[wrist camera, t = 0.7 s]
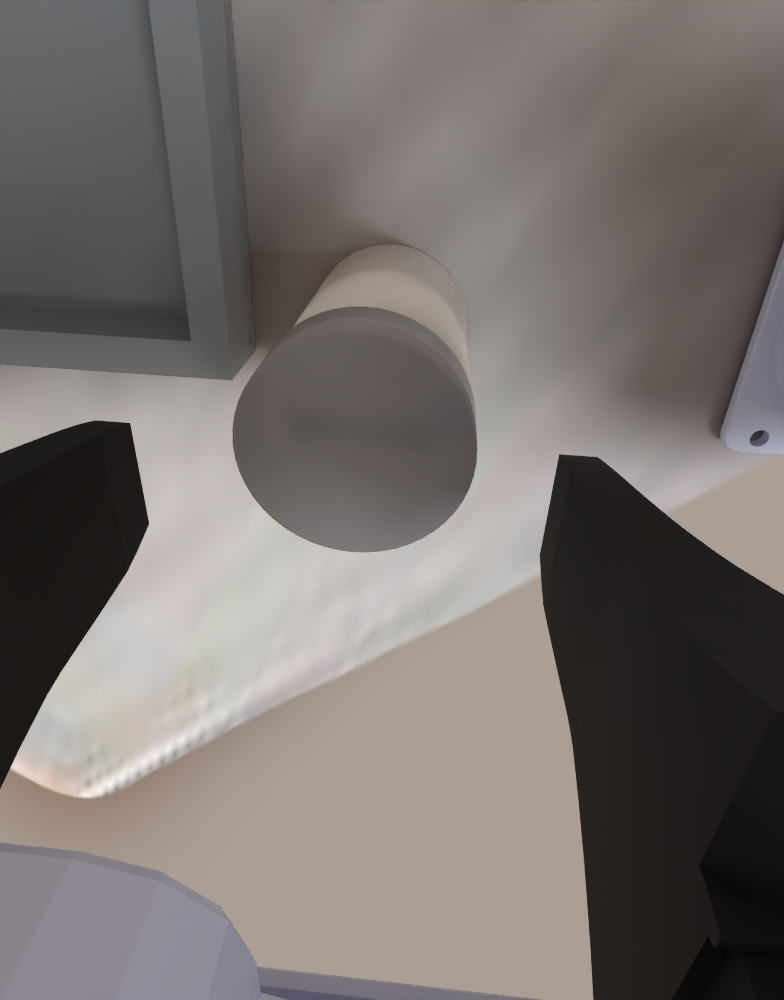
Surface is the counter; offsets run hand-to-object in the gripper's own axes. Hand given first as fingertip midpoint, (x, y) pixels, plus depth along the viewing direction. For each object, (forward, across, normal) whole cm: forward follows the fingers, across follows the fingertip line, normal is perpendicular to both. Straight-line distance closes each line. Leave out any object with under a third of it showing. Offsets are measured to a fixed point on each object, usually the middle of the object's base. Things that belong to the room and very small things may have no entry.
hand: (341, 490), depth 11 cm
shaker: (+9, 0, 0) cm, 9 cm away
